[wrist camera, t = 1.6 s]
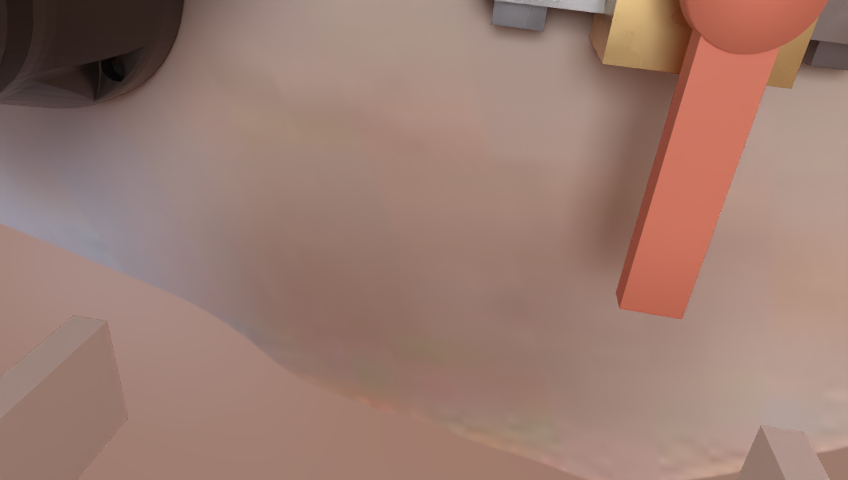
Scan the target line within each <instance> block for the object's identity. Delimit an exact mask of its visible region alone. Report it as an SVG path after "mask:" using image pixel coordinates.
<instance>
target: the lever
mask: <svg viewBox="0 0 848 480" xmlns="http://www.w3.org/2000/svg"><path fill="white" fill-rule="evenodd" d="M679 2H680V7H681V10H682V13H683V16H684V18H685V19H686V21H687V23H688V24H689V26H690V27H691V28H692V29H693V30H692V34H691V37H690V41H689V44H688V47H687V51H686V54H685V58H684V61H683V65H682V68H681V71H680V75H679V78H678V82H677V85H676V89H675V92H674V95H673V99H672V102H671V106H670V109H669V113H668V116H667V119H666V123H665V126H664V130H663V133H662V137H661V140H660V143H659V147H658V150H657V154H656V157H655V161H654V164H653V167H652V171H651V174H650V178H649V181H648V185H647V188H646V191H645V195H644V198H643V202H642V205H641V209H640V212H639V215H638V219H637V222H636V226H635V229H634V233H633V236H632V239H631V243H630V246H629V250H628V253H627V257H626V260H625V263H624V267H623V270H622V274H621V277H620V281H619V284H618V287H617V291H616V295H617V300H618V304H619V308H620V309H625V310H631V311H637V312H643V313H648V314H654V315H660V316H666V317H672V318H677V319H682V318H683V315H684V312H685V309H686V307H687V304H688V301H689V298H690V295H691V293H692V290H693V287H694V284H695V282H696V279H697V276H698V273H699V270H700V268H701V265H702V262H703V259H704V257H705V254H706V251H707V248H708V245H709V243H710V240H711V237H712V234H713V232H714V229H715V226H716V223H717V220H718V218H719V215H720V212H721V209H722V207H723V204H724V201H725V198H726V195H727V193H728V190H729V187H730V184H731V182H732V179H733V176H734V173H735V170H736V168H737V165H738V162H739V159H740V157H741V154H742V151H743V148H744V145H745V143H746V140H747V137H748V134H749V132H750V129H751V126H752V123H753V120H754V118H755V115H756V112H757V109H758V107H759V104H760V101H761V98H762V95H763V93H764V90H765V87H766V84H767V82H768V79H769V76H770V73H771V70H772V68H773V65H774V62H775V59H776V57H777V54H778V51H779V48H780V46H783V45H785V44H786V43H788V42H790V41H792V40H793V39H795V38H796V37H798V36H799V35H800V34H802V33H803V32H804V31H805V30H806V29H807V28H809V27H810V25H811V24H812V23H813V22H814V21H815V20H816V19H817V18H818V16H819V15H820V14H821V12H822V11H823V9H824V7H825V6H826V4H827V2H828V0H679Z"/></svg>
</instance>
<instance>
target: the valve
mask: <svg viewBox="0 0 848 480" xmlns="http://www.w3.org/2000/svg"><path fill="white" fill-rule="evenodd" d="M548 7H553V8H561V9H569V10H577V11H585V12H593V13H594V17H593V21H592V26H591V30H590V35H589V38H590V40H591V42H592V44H593V46H594V48H595V50H596V52H597V54H598V56H599V58H600V60H601V62H602V64H608V65H616V66H623V67H631V68H638V69H646V70H653V71H661V72H668V73H676V74H680V71H681V68H682V65H683V61H684V58H685V54H686V51H687V47H688V44H689V41H690V37H691V34H692V30H693V29H692V28H691V27H690V26H689V24H688V23H687V21H686V19H685V18H684V16H683V13H682V10H681V7H680V2H679V0H495V1H494V8H493V15H492V22H491V25H498V26H506V27H514V28H522V29H530V30H537V31H544V25H545V20H546V14H547V9H548ZM801 62H804V63H806V64H808V65H810V66H818V67H826V68H833V69H841V70H848V0H828V2H827V4H826V6H825V7H824V9H823V11H822V12H821V14H820V15H819V16H818V18H817V19H816V20H815V21H814V22H813V23H812V24H811V25H810V27H809V28H807V29H806V30H805V31H804V32H803V33H802V34H800V35H799V36H798V37H796V38H795V39H793V40H792V41H790V42H788V43H786V44H785V45H783V46H780V48H779V51H778V54H777V57H776V59H775V62H774V65H773V68H772V70H771V73H770V76H769V79H768V82H767V84H766V85H767V86H774V87H782V88H789V89H791V88H792V86H793V83H794V81H795V78H796V75H797V73H798V70H799V67H800V65H801Z"/></svg>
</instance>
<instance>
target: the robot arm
mask: <svg viewBox="0 0 848 480" xmlns="http://www.w3.org/2000/svg"><path fill="white" fill-rule="evenodd" d="M182 3H183V0H0V104H8V105H21V106H34V107H47V108H77V107H84V106H89V105H94V104H97V103H100V102H103V101H106V100H108V99H111V98H114V97H116V96H119V95H122V94H124V93H126V92H129V91H131V90H132V89H134V88H136V87H138V86H139V85H141V84H142V83H143V82H145V81H146V80H147V79H148V78H149V77H150V76H151V75H152V74H153V73H154V72H155V71H156V70H157V69H158V68H159V66H160V65H161V64H162V62H163V61H164V59H165V58H166V56H167V54H168V53H169V51H170V49H171V47H172V44H173V42H174V39H175V37H176V34H177V31H178V27H179V23H180V18H181V12H182ZM127 419H128V417H127V412H126V407H125V402H124V397H123V393H122V389H121V383H120V379H119V374H118V369H117V365H116V360H115V356H114V351H113V346H112V342H111V338H110V333H109V328H108V323H107V321H104V320H98V319H92V318H85V317H79V316H72V317H71V318H70V319H69V320H68V321H66V322H65V323H64V324H63V325H62V326H61V327H59V328H58V329H57V330H56V331H55V332H53V333H52V334H51V335H50V336H49V337H48V338H46V339H45V340H44V341H43V342H41V343H40V344H39V345H38V346H37V347H36V348H34V349H33V350H32V351H31V352H30V353H28V354H27V355H26V356H25V357H24V358H22V359H21V360H20V361H19V362H18V363H16V365H14V366H13V367H12V368H11V369H9V370H8V371H7V372H6V373H5V374H4V375H2V376H1V377H0V480H78V479H79V477H80V476H81V475H82V474H83V473H84V471H85V470H86V469H87V468H88V466H89V465H90V464H91V463H92V462H93V461H94V459H95V458H96V457H97V456H98V454H99V453H100V452H101V451H102V450H103V448H104V447H105V446H106V445H107V444H108V442H109V441H110V440H111V439H112V437H113V436H114V435H115V434H116V433H117V432H118V430H119V429H120V428H121V427H122V425H123V424H124V423H125V422H126V421H127ZM737 480H829V478H828V476H827V474H826V472H825V470H824V468H823V466H822V464H821V463H820V461H819V459H818V457H817V455H816V453H815V451H814V449H813V448H812V446H811V444H810V442H809V440H808V438H807V436H806V435H805V433H804V432H799V431H793V430H787V429H781V428H774V427H768V426H762V425H761V426H760V429H759V431H758V433H757V435H756V438H755V440H754V442H753V444H752V447H751V449H750V451H749V453H748V456H747V458H746V460H745V463H744V465H743V467H742V469H741V472H740V474H739V476H738V478H737Z"/></svg>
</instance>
